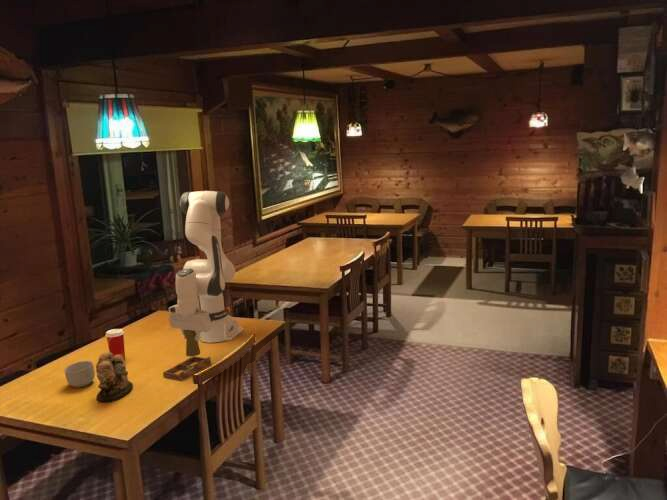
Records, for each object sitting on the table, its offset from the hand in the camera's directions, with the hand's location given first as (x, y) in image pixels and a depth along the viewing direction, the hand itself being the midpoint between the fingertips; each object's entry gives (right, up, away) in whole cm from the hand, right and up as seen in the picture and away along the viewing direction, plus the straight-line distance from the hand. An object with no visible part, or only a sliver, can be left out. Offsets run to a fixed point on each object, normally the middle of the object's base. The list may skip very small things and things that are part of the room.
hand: (191, 339), depth 236 cm
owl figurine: (-25, -18, -20) cm, 36 cm away
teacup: (-43, -16, -8) cm, 46 cm away
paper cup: (-36, -12, +13) cm, 40 cm away
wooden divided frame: (-1, -13, -1) cm, 13 cm away
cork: (0, -6, +1) cm, 7 cm away
